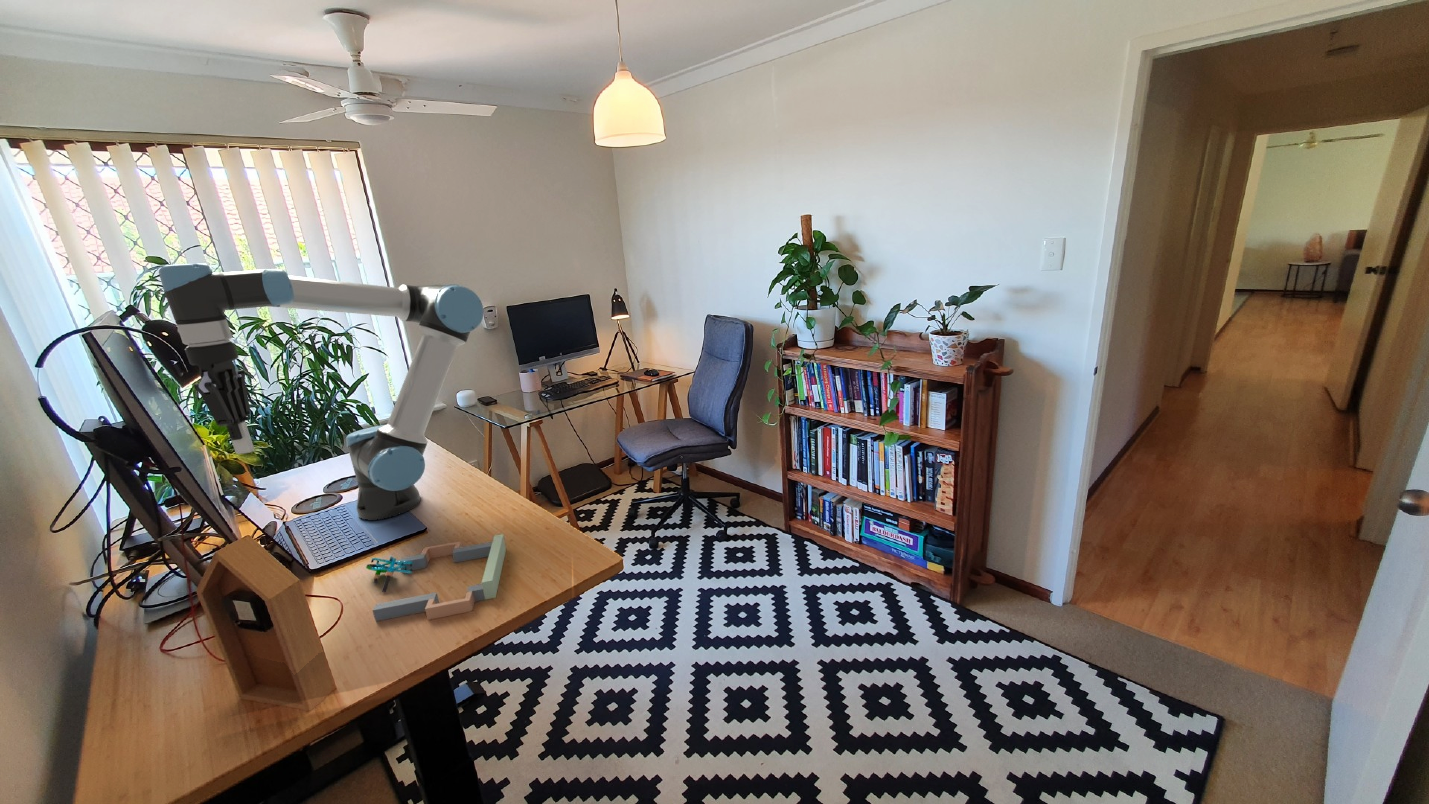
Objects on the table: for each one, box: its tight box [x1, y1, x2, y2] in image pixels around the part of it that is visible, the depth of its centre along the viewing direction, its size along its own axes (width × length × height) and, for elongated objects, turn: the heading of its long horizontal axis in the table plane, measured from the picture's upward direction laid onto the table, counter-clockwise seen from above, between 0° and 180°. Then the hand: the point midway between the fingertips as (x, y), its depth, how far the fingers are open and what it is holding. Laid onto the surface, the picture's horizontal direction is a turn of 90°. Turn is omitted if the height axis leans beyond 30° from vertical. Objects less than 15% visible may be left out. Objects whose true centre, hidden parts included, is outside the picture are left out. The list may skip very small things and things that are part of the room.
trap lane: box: [372, 533, 507, 622], centre depth 115 cm, size 25×22×4 cm
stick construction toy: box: [365, 556, 413, 593], centre depth 116 cm, size 12×7×8 cm
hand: (245, 452), depth 115 cm, fingers closed
